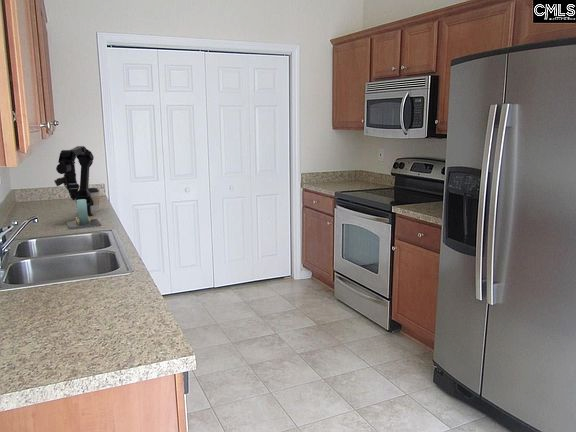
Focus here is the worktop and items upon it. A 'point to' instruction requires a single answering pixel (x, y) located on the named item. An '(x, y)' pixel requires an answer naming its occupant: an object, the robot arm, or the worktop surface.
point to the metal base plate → (77, 224)
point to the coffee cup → (94, 199)
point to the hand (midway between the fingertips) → (72, 199)
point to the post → (82, 211)
